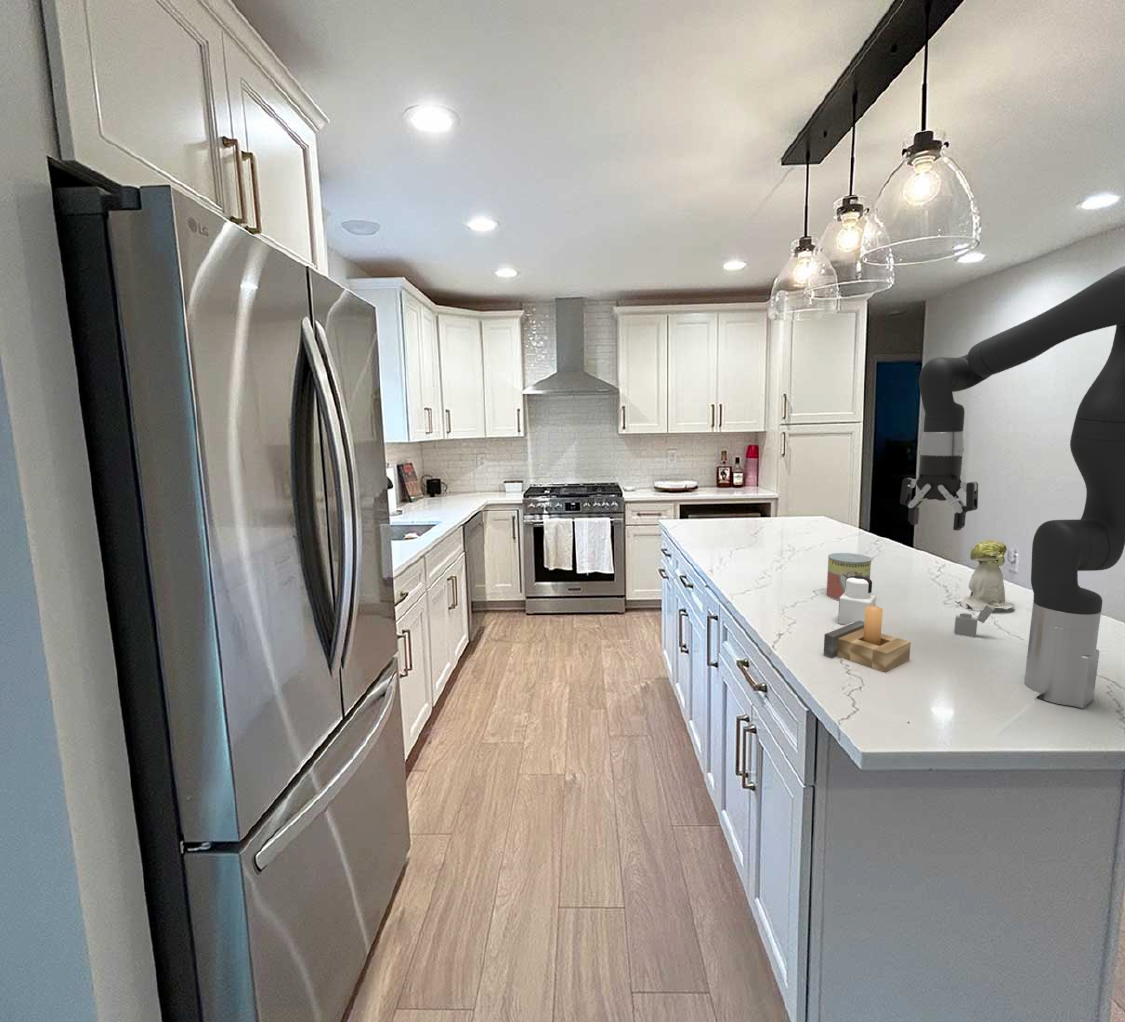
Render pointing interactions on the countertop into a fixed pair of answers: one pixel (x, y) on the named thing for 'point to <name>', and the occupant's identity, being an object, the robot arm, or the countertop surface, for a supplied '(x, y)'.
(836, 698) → the countertop surface
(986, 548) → the mushroom
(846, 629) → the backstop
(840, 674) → the countertop surface
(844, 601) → the medicine bottle
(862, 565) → the canned food
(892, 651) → the socket block
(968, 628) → the lighter
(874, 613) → the dowel
